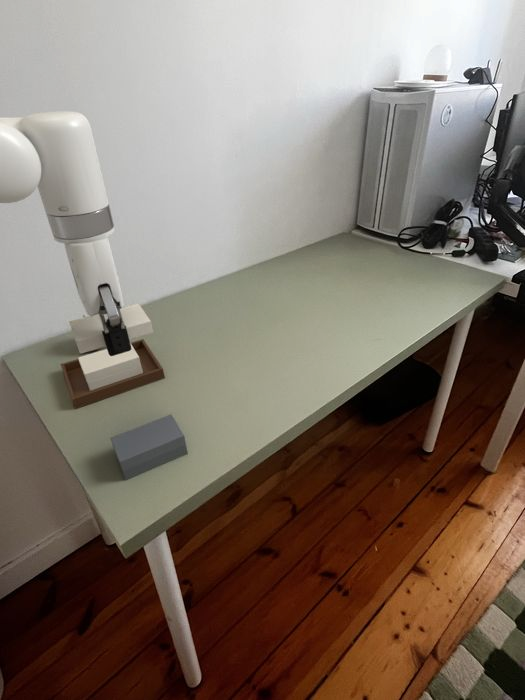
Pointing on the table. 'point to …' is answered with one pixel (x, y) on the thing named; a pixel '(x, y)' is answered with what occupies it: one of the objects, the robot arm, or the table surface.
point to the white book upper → (107, 363)
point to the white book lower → (114, 378)
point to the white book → (91, 329)
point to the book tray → (85, 396)
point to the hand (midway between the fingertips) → (114, 340)
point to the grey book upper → (147, 442)
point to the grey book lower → (154, 462)
